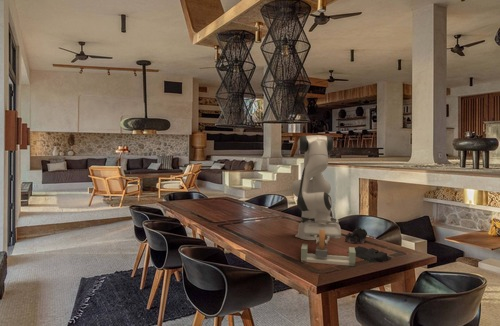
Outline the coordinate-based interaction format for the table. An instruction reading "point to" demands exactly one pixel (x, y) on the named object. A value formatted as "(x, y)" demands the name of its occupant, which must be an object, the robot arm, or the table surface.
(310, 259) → the rail base
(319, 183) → the robot arm
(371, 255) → the dark flat rock slab
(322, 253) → the carriage
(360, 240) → the crystal cluster
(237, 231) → the table surface
